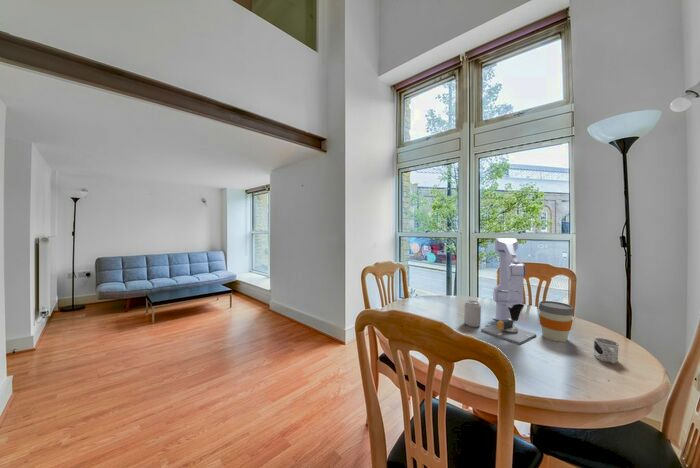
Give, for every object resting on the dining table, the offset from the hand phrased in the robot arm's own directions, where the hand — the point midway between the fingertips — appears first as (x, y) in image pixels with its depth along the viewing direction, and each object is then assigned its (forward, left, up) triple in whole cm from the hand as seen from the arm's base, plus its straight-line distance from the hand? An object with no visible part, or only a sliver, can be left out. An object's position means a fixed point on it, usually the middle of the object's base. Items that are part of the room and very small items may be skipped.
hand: (514, 320), depth 119 cm
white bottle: (+2, -19, -8) cm, 21 cm away
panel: (-2, -4, -8) cm, 9 cm away
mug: (-9, +29, -8) cm, 31 cm away
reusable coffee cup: (-16, +10, -8) cm, 21 cm away
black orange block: (-2, -4, -7) cm, 9 cm away
